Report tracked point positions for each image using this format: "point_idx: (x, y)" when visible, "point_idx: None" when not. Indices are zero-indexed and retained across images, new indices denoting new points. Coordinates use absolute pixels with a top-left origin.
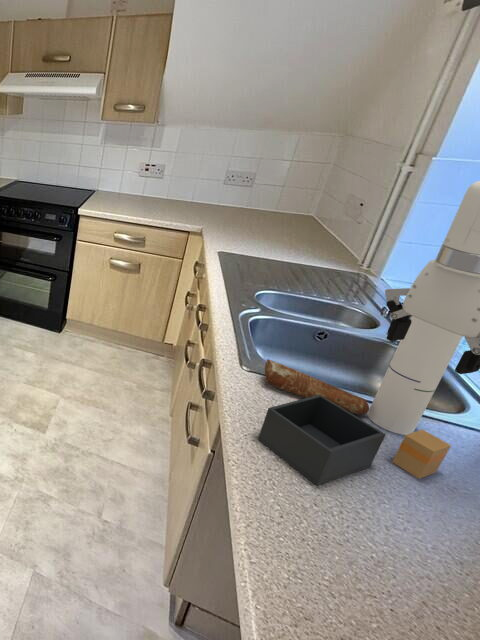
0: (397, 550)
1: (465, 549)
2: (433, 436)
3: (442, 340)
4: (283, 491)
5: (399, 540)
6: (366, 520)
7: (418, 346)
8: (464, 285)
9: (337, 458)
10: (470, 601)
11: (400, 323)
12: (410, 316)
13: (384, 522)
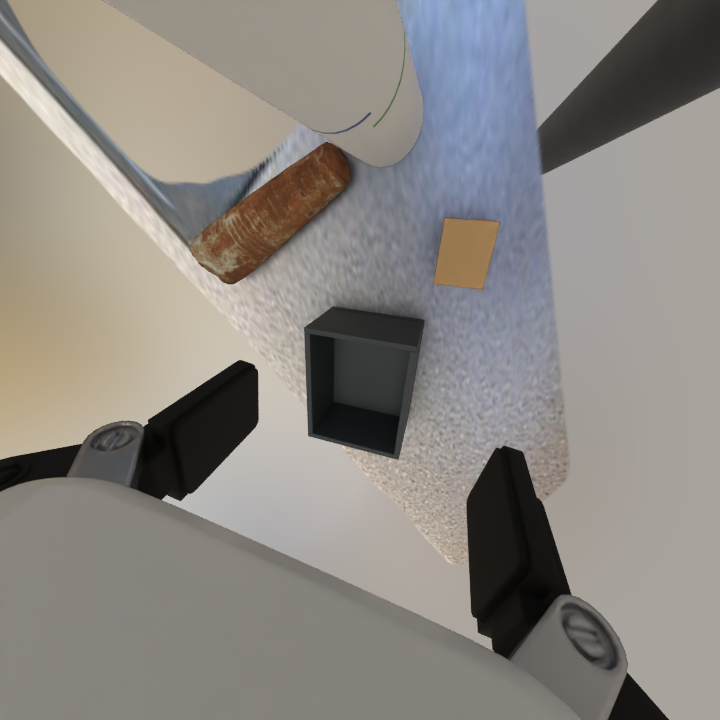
0: (498, 438)
1: (554, 373)
2: (467, 224)
3: None
4: None
5: (495, 423)
6: (462, 423)
7: (263, 83)
8: None
9: (404, 429)
10: (567, 446)
11: (191, 482)
12: (140, 467)
13: (475, 410)
